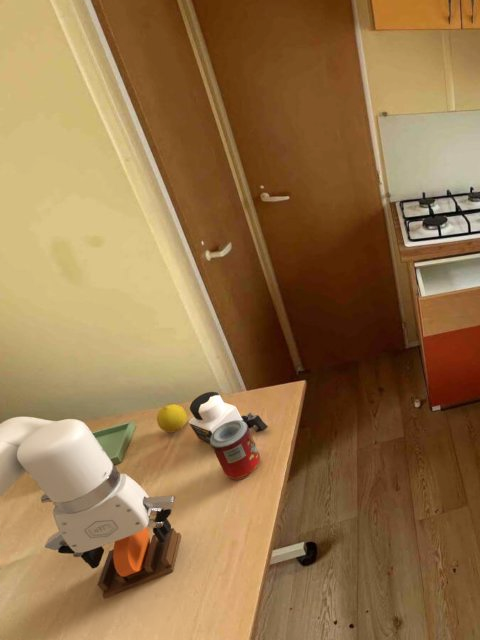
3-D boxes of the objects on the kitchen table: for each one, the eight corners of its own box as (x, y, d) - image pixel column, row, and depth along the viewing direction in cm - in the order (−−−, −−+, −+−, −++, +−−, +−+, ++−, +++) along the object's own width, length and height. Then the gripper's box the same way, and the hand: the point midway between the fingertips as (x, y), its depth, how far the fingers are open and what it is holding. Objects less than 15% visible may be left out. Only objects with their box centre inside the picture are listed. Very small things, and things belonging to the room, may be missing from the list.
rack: (104, 598, 74) (95, 588, 72) (117, 558, 79) (109, 548, 78) (173, 571, 77) (166, 561, 76) (181, 535, 83) (174, 524, 81)
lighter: (246, 436, 106) (233, 421, 105) (253, 430, 108) (240, 415, 107) (261, 432, 102) (247, 416, 101) (268, 426, 104) (254, 410, 103)
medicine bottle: (199, 440, 102) (178, 407, 96) (225, 417, 108) (206, 384, 102) (221, 449, 100) (200, 416, 94) (246, 424, 106) (228, 392, 100)
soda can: (266, 466, 96) (251, 429, 90) (232, 488, 91) (213, 451, 86) (255, 448, 100) (239, 412, 95) (222, 468, 96) (203, 431, 90)
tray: (39, 487, 92) (34, 481, 91) (62, 447, 101) (57, 441, 100) (121, 462, 97) (117, 456, 96) (135, 426, 106) (132, 420, 105)
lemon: (158, 436, 103) (145, 413, 100) (179, 418, 108) (167, 396, 104) (176, 441, 102) (164, 417, 98) (197, 423, 107) (185, 400, 103)
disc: (127, 585, 74) (107, 560, 70) (141, 541, 80) (123, 516, 77) (141, 580, 75) (122, 555, 71) (154, 537, 81) (137, 512, 77)
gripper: (2, 533, 61) (61, 593, 69) (147, 485, 68) (186, 545, 76) (27, 488, 67) (79, 548, 75) (159, 448, 74) (194, 507, 82)
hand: (133, 547), depth 75 cm, fingers open, 9 cm apart
